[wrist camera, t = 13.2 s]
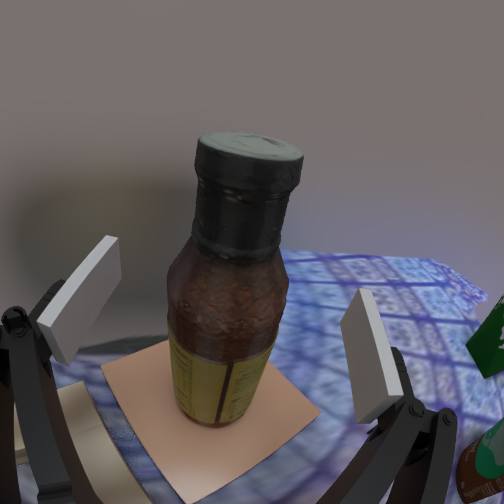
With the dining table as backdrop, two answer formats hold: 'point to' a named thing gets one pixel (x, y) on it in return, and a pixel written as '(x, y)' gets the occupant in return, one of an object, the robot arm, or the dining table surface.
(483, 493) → the food container
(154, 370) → the terracotta tile
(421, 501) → the robot arm
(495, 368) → the milk carton
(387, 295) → the dining table surface
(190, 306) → the sauce bottle
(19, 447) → the bottle stand
